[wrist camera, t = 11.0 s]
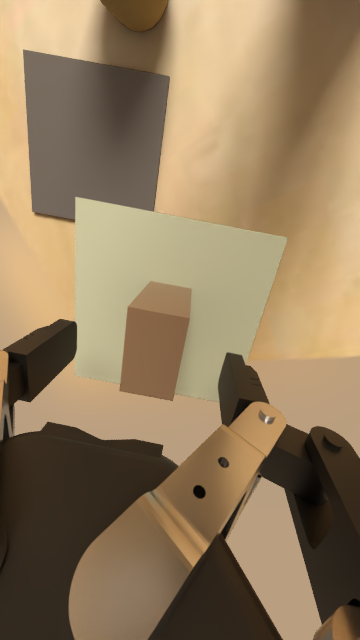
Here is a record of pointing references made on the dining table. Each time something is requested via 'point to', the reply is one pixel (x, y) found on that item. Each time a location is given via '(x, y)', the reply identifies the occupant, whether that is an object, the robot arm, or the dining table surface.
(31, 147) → the mat
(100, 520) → the robot arm
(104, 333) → the cover
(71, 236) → the dining table surface
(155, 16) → the squeeze bottle
